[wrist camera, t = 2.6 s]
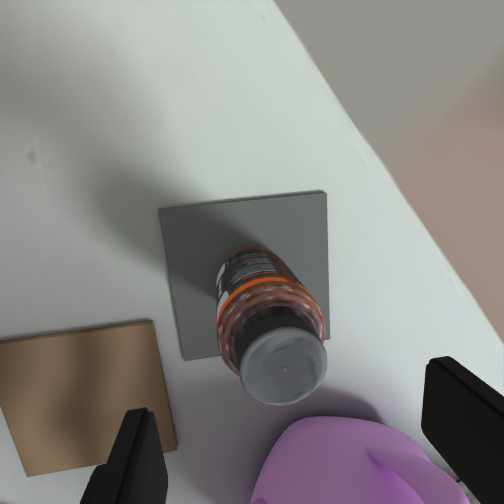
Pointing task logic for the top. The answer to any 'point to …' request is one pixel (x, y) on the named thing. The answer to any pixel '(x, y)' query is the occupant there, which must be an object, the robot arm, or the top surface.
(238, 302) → the supplement bottle
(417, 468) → the teapot
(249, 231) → the dot mat
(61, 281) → the top surface
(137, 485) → the robot arm
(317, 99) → the top surface
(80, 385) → the walnut board
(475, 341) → the top surface
